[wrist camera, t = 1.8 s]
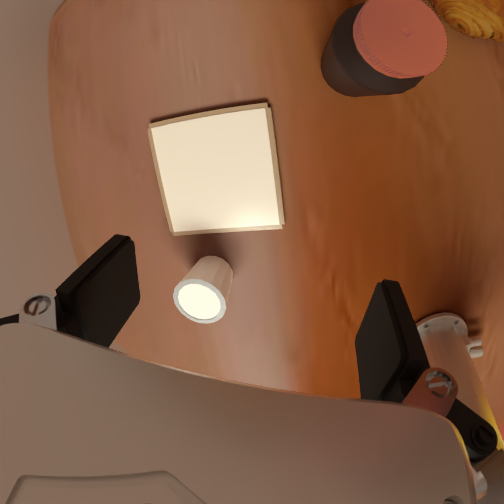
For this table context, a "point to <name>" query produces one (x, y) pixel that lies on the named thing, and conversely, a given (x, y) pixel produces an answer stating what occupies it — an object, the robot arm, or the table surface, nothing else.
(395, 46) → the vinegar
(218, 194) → the plate
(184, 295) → the short white cylinder
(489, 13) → the croissant
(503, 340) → the table surface
